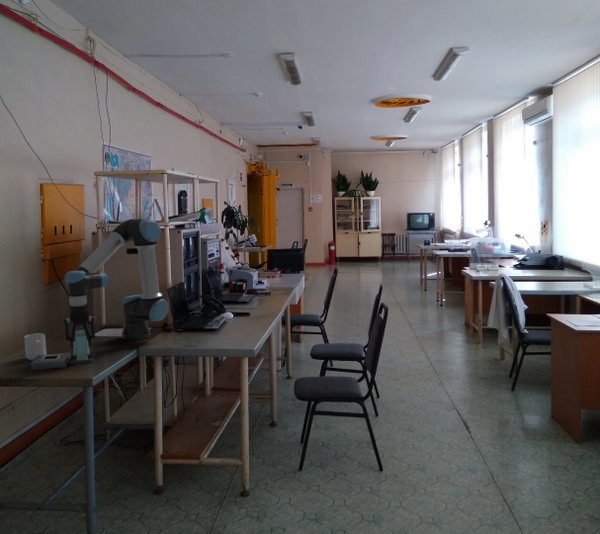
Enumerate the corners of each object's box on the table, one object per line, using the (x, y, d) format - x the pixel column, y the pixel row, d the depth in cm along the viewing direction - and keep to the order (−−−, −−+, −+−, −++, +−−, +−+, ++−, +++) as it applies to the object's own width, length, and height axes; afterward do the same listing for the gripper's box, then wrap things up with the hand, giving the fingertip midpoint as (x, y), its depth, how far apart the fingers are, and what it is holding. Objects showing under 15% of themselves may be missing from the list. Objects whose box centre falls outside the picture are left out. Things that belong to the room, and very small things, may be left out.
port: (70, 359, 259) (69, 352, 258) (65, 368, 245) (64, 360, 245) (38, 362, 255) (37, 354, 255) (31, 371, 242) (30, 363, 242)
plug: (87, 358, 258) (85, 329, 256) (86, 361, 254) (84, 331, 252) (78, 359, 257) (76, 330, 255) (76, 362, 253) (74, 332, 251)
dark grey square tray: (95, 357, 261) (94, 354, 261) (92, 363, 252) (92, 359, 251) (72, 359, 259) (72, 355, 259) (69, 365, 249) (68, 361, 249)
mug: (24, 357, 264) (22, 335, 263) (44, 354, 269) (42, 332, 268) (29, 363, 254) (27, 339, 253) (49, 359, 260) (48, 336, 258)
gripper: (100, 302, 258) (103, 350, 261) (59, 304, 254) (62, 353, 256) (98, 304, 251) (101, 354, 253) (55, 307, 246) (59, 357, 249)
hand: (81, 353), depth 255 cm, fingers open, 5 cm apart
